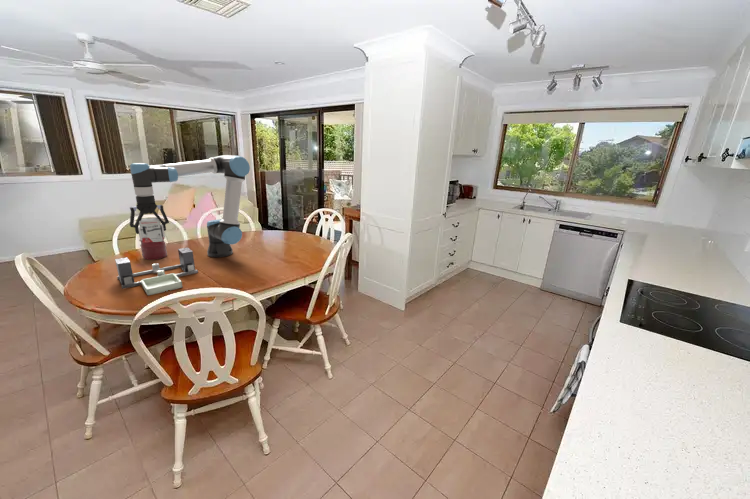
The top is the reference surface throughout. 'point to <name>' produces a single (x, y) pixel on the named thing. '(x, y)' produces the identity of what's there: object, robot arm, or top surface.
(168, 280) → the tray
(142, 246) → the canister
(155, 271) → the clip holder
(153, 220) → the ink box
